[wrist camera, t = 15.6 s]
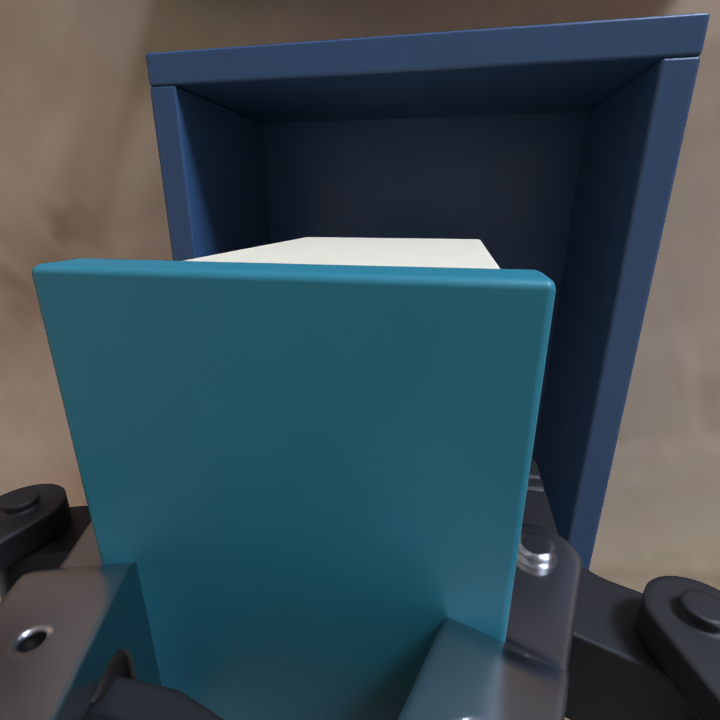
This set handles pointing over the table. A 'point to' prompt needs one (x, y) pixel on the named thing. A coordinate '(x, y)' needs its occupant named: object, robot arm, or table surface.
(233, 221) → the bin
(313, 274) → the container
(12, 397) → the table surface
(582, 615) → the robot arm
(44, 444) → the table surface
